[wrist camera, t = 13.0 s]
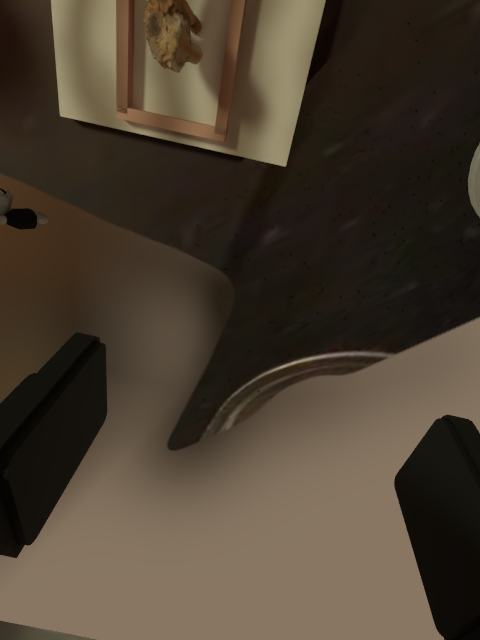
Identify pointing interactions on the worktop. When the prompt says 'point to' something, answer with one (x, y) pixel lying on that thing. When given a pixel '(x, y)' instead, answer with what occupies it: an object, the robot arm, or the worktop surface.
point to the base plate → (190, 73)
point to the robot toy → (18, 214)
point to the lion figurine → (172, 33)
